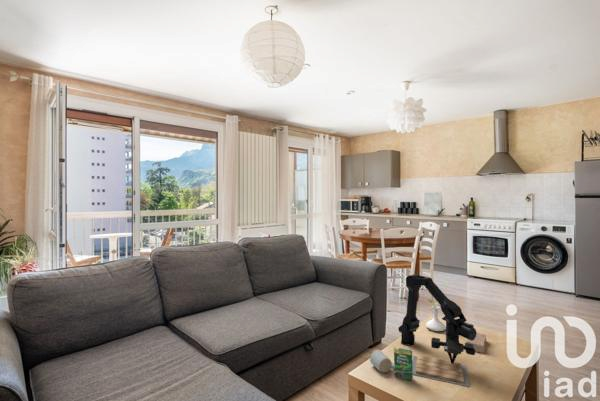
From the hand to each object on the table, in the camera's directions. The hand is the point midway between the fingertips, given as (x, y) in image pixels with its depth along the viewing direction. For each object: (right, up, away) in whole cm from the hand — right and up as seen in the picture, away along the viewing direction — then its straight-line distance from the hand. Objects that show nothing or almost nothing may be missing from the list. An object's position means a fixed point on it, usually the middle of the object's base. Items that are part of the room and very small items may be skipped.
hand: (452, 363), depth 150 cm
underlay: (-8, -2, -2) cm, 8 cm away
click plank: (-6, -1, +1) cm, 6 cm away
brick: (+24, -2, +21) cm, 32 cm away
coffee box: (-26, -3, -8) cm, 27 cm away
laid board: (-9, -2, -6) cm, 11 cm away
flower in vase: (+10, -1, +42) cm, 43 cm away
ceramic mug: (-34, -3, 0) cm, 34 cm away
